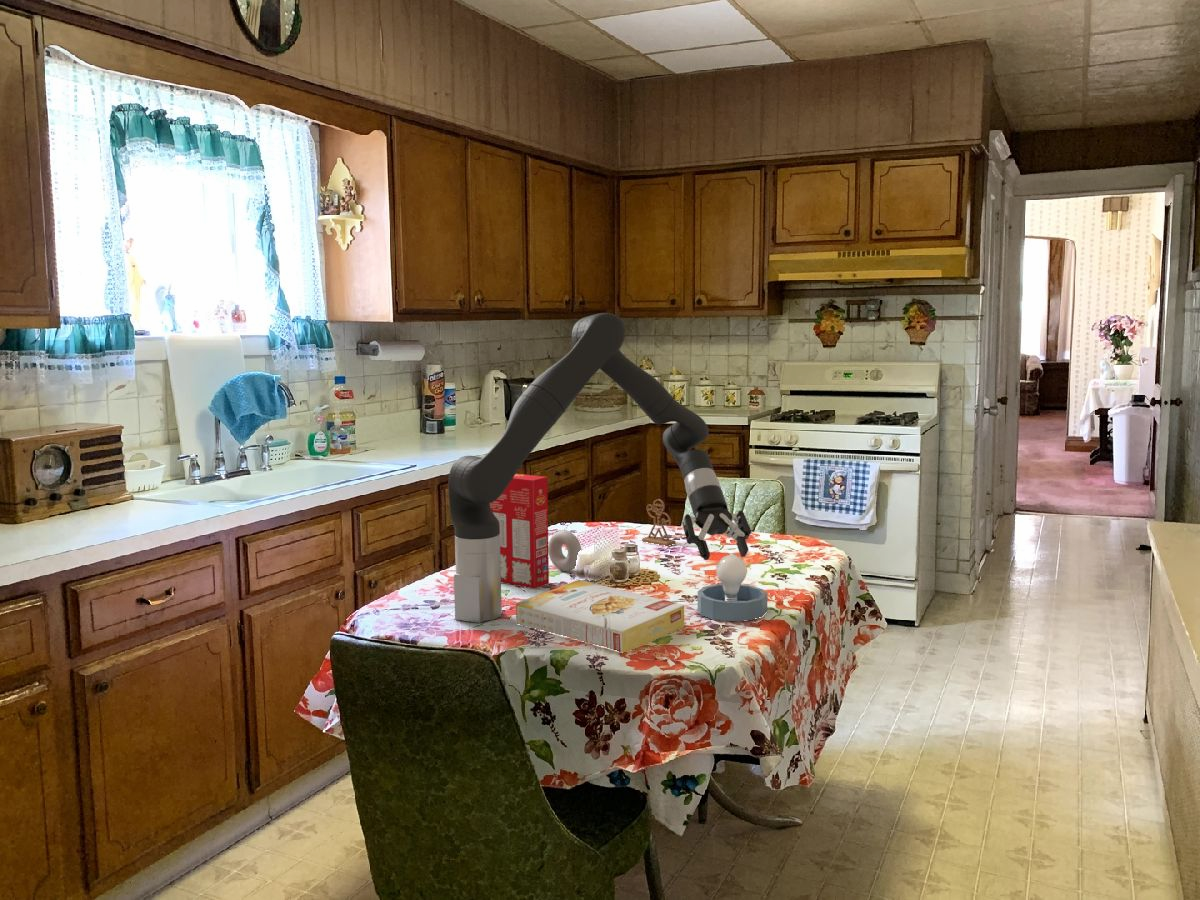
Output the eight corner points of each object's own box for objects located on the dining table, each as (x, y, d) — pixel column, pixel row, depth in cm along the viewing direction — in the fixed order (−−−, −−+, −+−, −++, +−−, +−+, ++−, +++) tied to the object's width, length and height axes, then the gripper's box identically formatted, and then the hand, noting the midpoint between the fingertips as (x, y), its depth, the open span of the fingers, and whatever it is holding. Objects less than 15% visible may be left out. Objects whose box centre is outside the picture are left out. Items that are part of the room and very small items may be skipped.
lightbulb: (722, 612, 207) (723, 560, 206) (711, 603, 213) (711, 552, 212) (751, 609, 209) (752, 558, 207) (738, 600, 215) (739, 550, 213)
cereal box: (578, 578, 218) (686, 600, 200) (578, 602, 219) (687, 627, 201) (513, 601, 202) (625, 628, 185) (514, 628, 203) (625, 657, 186)
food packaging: (548, 583, 233) (547, 476, 230) (535, 588, 229) (533, 480, 225) (499, 574, 241) (497, 471, 238) (485, 579, 237) (482, 474, 233)
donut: (584, 572, 242) (584, 532, 241) (575, 575, 240) (574, 534, 238) (555, 565, 249) (554, 526, 247) (545, 568, 246) (544, 528, 245)
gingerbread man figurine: (676, 544, 271) (676, 500, 269) (667, 546, 268) (667, 502, 266) (650, 539, 277) (650, 496, 275) (641, 541, 274) (641, 498, 272)
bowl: (755, 625, 202) (755, 606, 201) (689, 616, 208) (689, 597, 207) (773, 606, 214) (774, 588, 214) (711, 598, 220) (711, 580, 220)
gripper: (679, 485, 216) (700, 549, 207) (739, 481, 221) (762, 544, 212) (670, 505, 222) (689, 568, 213) (729, 501, 226) (751, 563, 217)
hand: (726, 556), depth 212 cm, fingers open, 8 cm apart
